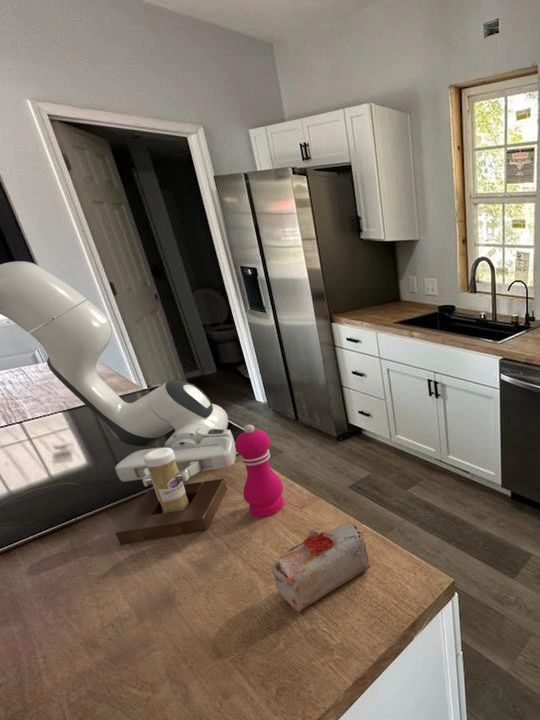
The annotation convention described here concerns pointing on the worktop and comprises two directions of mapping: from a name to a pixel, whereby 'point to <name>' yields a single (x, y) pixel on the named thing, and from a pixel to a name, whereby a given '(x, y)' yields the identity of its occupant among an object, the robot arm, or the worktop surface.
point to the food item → (320, 565)
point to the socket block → (173, 514)
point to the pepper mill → (259, 473)
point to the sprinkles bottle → (166, 480)
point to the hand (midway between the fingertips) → (165, 480)
